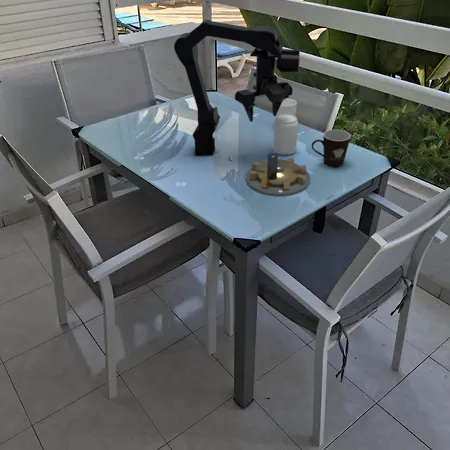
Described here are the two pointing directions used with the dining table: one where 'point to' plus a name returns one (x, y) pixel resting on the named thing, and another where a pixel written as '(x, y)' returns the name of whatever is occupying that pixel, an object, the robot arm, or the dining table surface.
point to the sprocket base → (275, 190)
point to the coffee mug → (334, 147)
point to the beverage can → (285, 134)
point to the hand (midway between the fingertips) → (262, 118)
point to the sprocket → (278, 172)
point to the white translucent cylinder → (287, 107)
